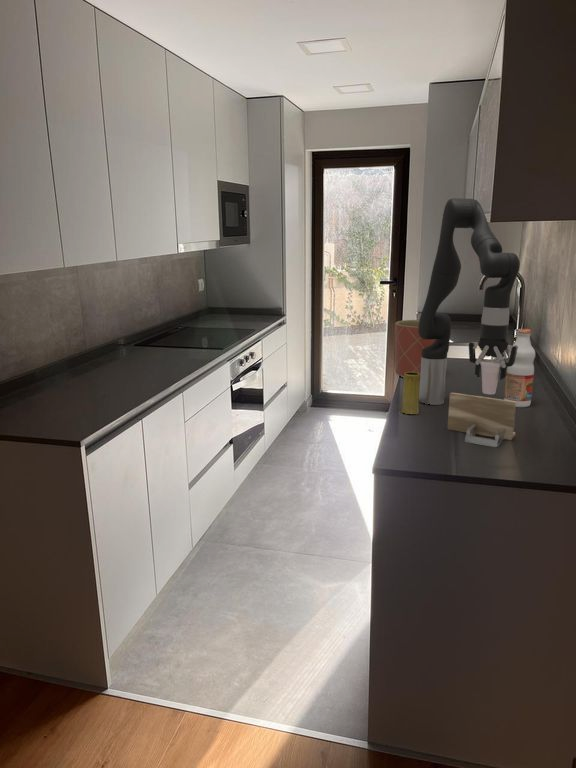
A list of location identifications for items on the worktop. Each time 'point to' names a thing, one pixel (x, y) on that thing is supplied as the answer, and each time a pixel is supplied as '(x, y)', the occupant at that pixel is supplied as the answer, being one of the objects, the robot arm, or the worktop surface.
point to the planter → (409, 347)
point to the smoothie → (490, 375)
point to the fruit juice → (521, 371)
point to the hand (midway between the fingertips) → (490, 377)
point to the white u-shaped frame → (474, 439)
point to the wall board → (481, 414)
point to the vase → (411, 393)
